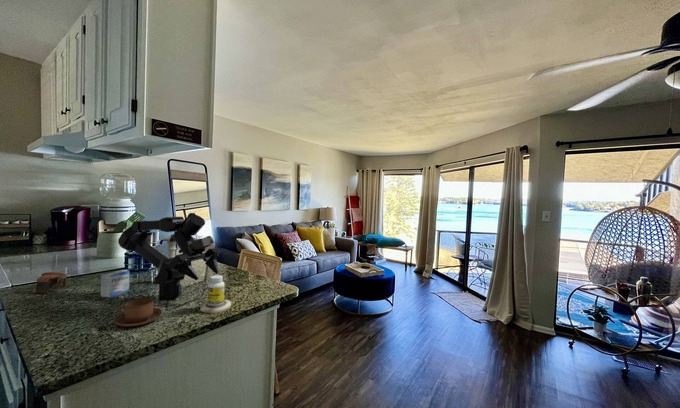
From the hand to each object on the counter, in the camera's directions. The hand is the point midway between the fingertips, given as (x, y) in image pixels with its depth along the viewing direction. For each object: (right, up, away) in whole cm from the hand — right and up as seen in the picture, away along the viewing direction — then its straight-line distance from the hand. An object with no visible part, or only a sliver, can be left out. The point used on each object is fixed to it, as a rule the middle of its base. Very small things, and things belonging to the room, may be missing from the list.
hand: (208, 276), depth 100 cm
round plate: (+4, -11, -1) cm, 12 cm away
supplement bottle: (+3, -10, -1) cm, 10 cm away
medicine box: (-41, -10, +9) cm, 43 cm away
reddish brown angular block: (-68, -9, +10) cm, 69 cm away
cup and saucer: (-15, -11, -14) cm, 23 cm away
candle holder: (-30, -10, +27) cm, 42 cm away
